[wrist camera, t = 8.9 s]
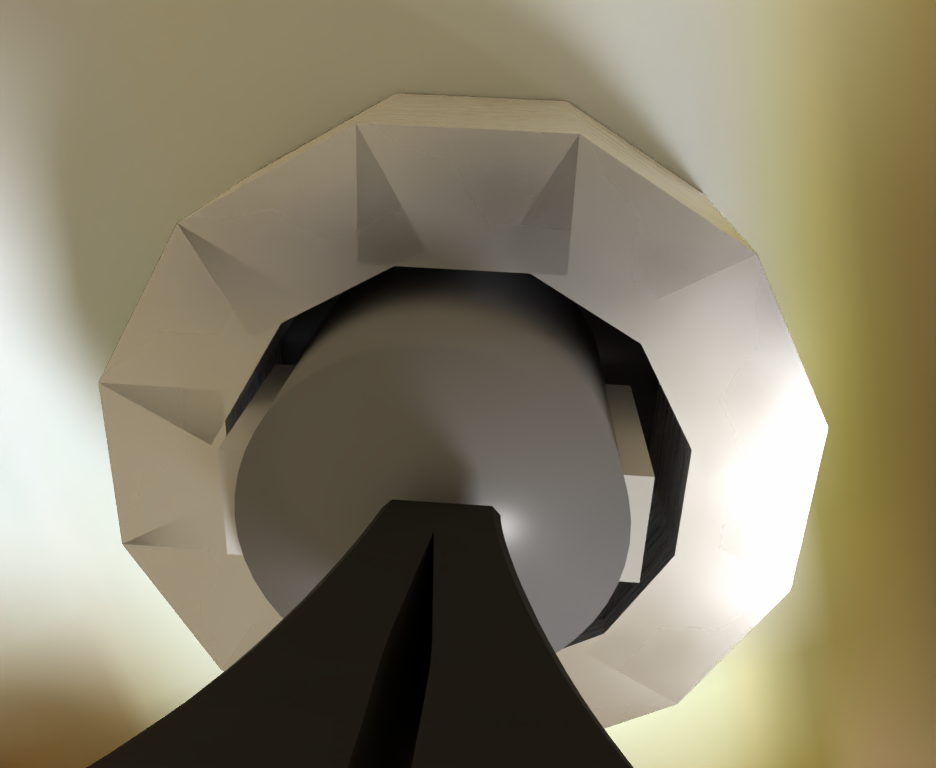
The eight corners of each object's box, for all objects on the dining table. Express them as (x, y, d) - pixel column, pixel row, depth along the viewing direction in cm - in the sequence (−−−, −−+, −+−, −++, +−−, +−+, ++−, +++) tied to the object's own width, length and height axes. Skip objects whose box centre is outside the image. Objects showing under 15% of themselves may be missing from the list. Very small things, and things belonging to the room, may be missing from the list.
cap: (632, 253, 14) (677, 360, 10) (601, 518, 16) (627, 698, 12) (293, 234, 14) (198, 331, 10) (304, 499, 16) (229, 669, 12)
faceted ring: (805, 112, 13) (893, 149, 10) (707, 630, 18) (748, 772, 14) (166, 82, 14) (58, 108, 11) (216, 595, 18) (149, 725, 15)
